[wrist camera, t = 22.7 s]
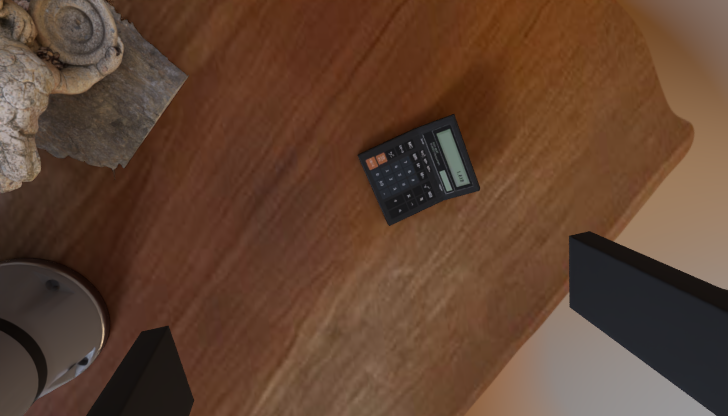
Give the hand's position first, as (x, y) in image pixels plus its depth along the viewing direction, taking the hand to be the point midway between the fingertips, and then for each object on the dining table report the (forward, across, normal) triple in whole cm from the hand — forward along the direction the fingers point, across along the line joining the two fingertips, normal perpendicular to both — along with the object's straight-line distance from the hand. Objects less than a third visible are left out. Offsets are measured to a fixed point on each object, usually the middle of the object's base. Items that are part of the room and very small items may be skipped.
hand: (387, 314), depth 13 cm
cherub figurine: (+35, -23, +13) cm, 44 cm away
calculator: (+34, +11, -3) cm, 36 cm away
